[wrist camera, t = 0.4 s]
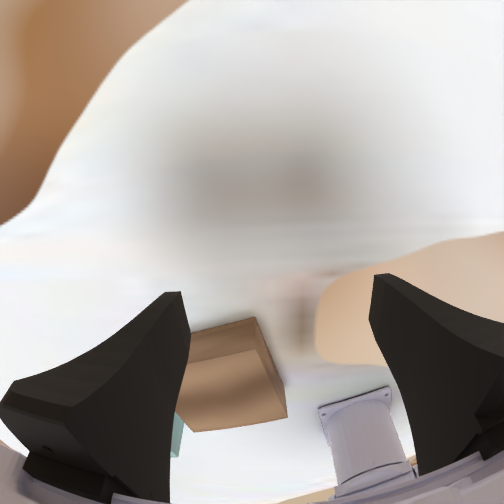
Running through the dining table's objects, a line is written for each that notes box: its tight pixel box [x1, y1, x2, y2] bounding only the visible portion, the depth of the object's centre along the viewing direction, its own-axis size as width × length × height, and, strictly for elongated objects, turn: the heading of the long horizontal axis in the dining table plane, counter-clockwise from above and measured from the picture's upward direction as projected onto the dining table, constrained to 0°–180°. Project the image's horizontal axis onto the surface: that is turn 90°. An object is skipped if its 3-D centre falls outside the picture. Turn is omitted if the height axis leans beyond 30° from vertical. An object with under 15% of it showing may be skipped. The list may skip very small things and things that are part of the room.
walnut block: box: [175, 317, 288, 432], centre depth 24 cm, size 9×9×4 cm
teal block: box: [170, 412, 184, 457], centre depth 26 cm, size 5×5×5 cm
